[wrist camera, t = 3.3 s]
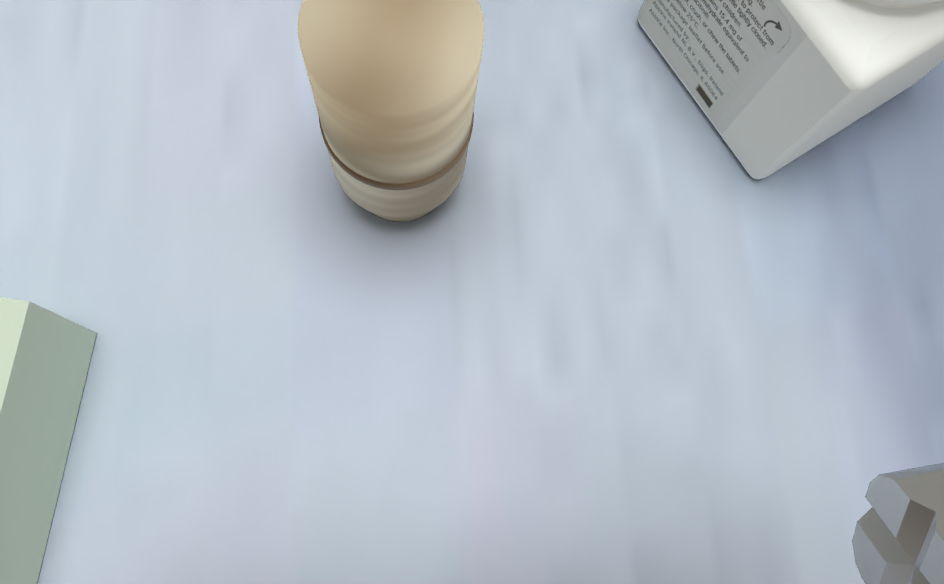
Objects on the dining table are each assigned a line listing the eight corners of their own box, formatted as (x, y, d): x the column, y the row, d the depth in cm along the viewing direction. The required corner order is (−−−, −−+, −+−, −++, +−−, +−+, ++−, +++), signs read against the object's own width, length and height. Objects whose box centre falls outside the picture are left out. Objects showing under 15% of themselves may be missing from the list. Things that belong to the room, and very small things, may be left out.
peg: (472, 126, 30) (497, -42, 21) (454, 245, 29) (473, 128, 20) (347, 106, 30) (313, -71, 21) (325, 226, 29) (279, 99, 20)
